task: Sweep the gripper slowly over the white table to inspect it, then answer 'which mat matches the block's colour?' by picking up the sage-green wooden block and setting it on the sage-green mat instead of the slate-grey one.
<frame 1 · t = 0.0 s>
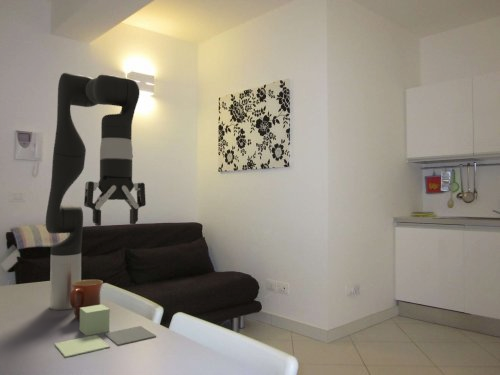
hand: (115, 224, 99), 29 cm above the table, fingers open, 8 cm apart
grey pad: (130, 335, 106), on the table
mug: (83, 319, 121), on the table
pale green cube: (94, 330, 110), on the table
sage pad: (82, 346, 98), on the table
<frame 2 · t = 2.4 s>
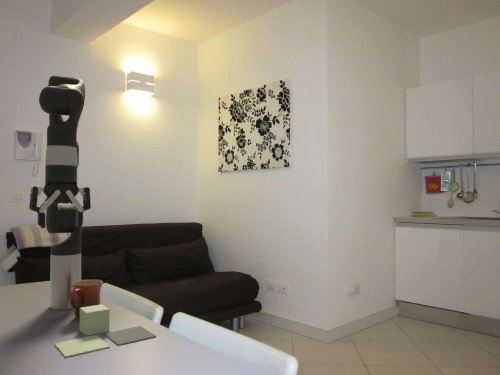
hand: (60, 227, 105), 28 cm above the table, fingers open, 8 cm apart
nothing on the table moved.
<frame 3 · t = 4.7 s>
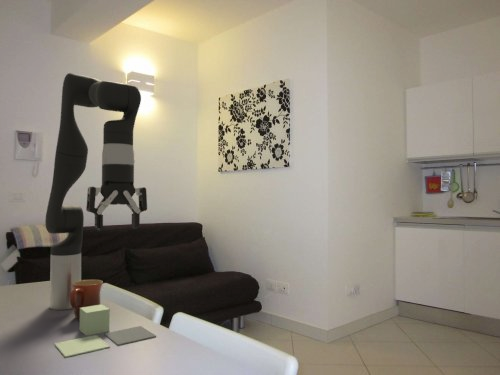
hand: (117, 229, 100), 28 cm above the table, fingers open, 8 cm apart
nothing on the table moved.
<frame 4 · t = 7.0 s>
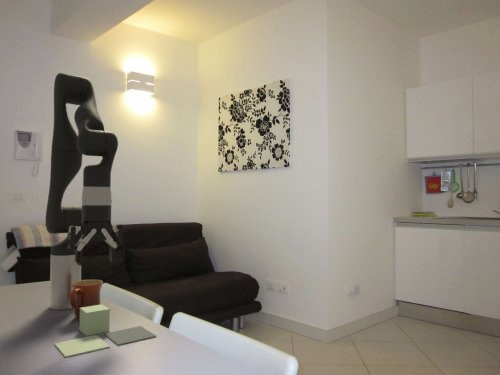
hand: (95, 263, 110), 18 cm above the table, fingers open, 8 cm apart
nothing on the table moved.
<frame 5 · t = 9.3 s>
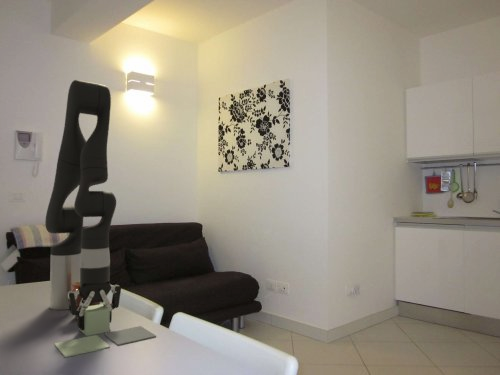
hand: (94, 326, 110), 1 cm above the table, fingers closed on pale green cube, 6 cm apart
pale green cube: (94, 330, 110), on the table, touching gripper
everything else where it was.
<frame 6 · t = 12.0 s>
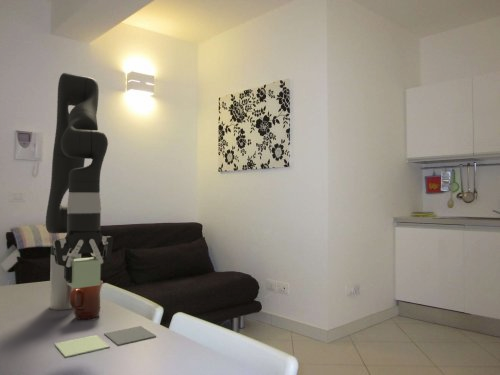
hand: (83, 280, 99), 16 cm above the table, fingers closed on pale green cube, 6 cm apart
pale green cube: (83, 284, 99), point 15 cm above the table, touching gripper
everything else where it was.
when the fingers open (3 cm above the table, at t = 15.0 s): pale green cube drops 1 cm, resting on sage pad.
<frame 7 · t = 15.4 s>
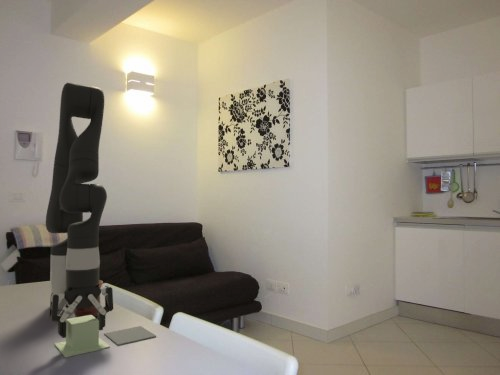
hand: (82, 333, 98), 3 cm above the table, fingers open, 8 cm apart
pale green cube: (82, 344, 98), resting on sage pad
everything else where it was.
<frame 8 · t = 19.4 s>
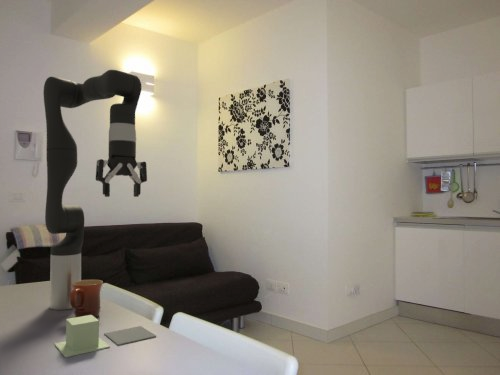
hand: (121, 196, 117), 36 cm above the table, fingers open, 8 cm apart
nothing on the table moved.
at the end: pale green cube inside the target area on the sage pad (0.0 cm from its centre), point 0.3 cm above the sage pad's base; pale green cube tilted 0°; the gripper is holding nothing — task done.
